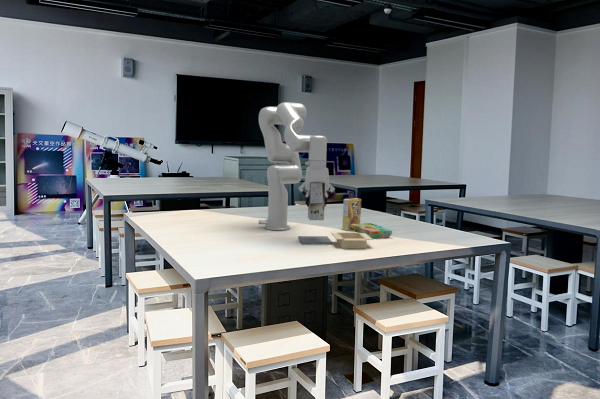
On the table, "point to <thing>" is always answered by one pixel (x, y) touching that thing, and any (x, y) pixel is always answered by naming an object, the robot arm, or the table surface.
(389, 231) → the puzzle game
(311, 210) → the coffee box
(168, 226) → the table surface
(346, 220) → the candy box
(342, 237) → the carton
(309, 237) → the mat
